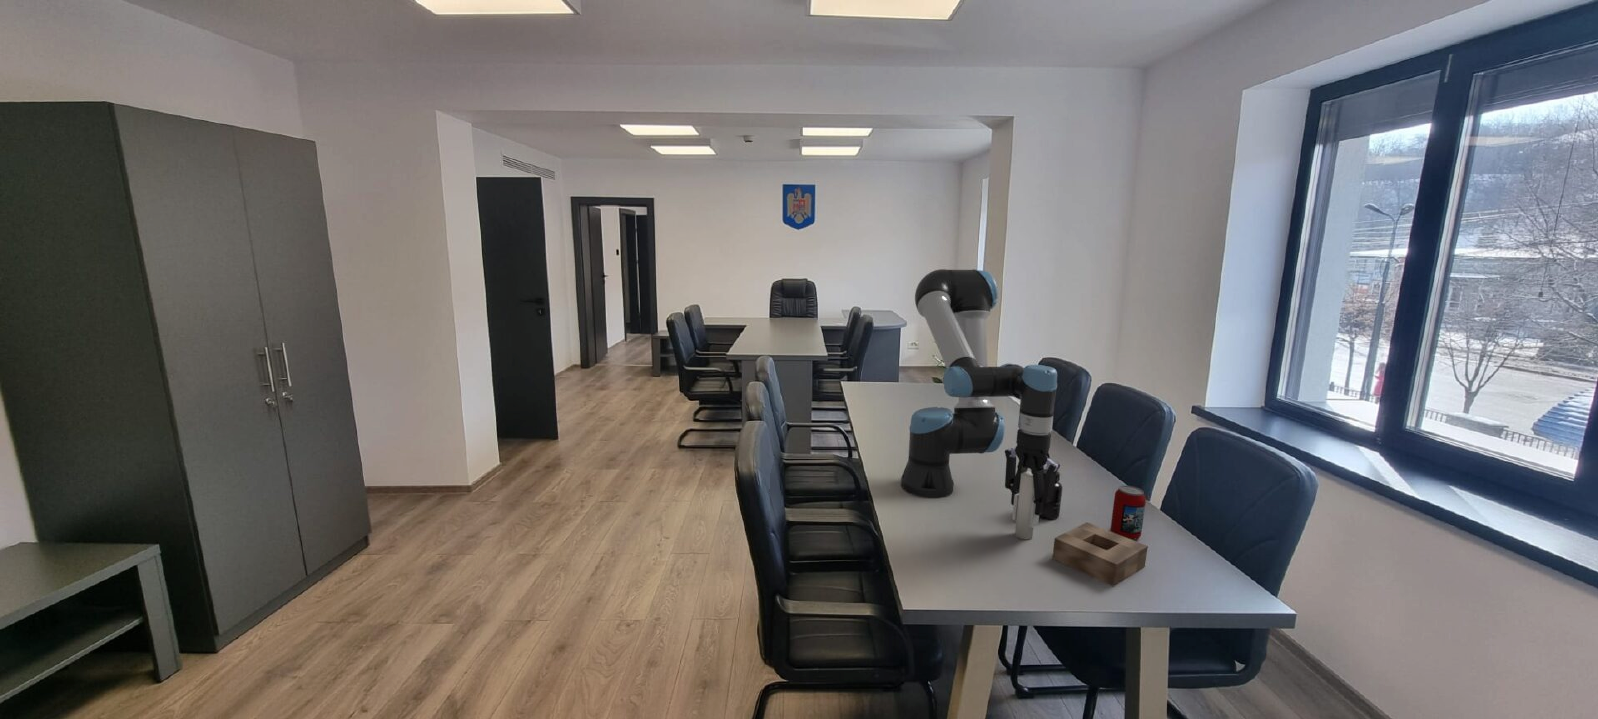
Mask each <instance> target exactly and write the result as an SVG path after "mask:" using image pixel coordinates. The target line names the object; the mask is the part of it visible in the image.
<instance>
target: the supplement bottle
mask: <svg viewBox="0 0 1598 719" xmlns="http://www.w3.org/2000/svg"><path fill="white" fill-rule="evenodd" d="M1046 472H1047V469H1046V468H1044V472H1043V478H1044V483H1045V477H1046ZM1060 476H1061V473H1060V472H1059V470H1058V471H1057V473H1056V479H1055V486H1054V492H1053V499H1052V501H1049V502H1047V503H1044V504H1043V513H1042V514H1041V515H1039V519H1040V518H1041V519H1045V520H1055V519H1058V518H1059V516H1060V512H1061V506H1062V504H1061V503H1062V496H1063V485H1062V483H1061V482H1060V479H1061V478H1060Z"/></svg>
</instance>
